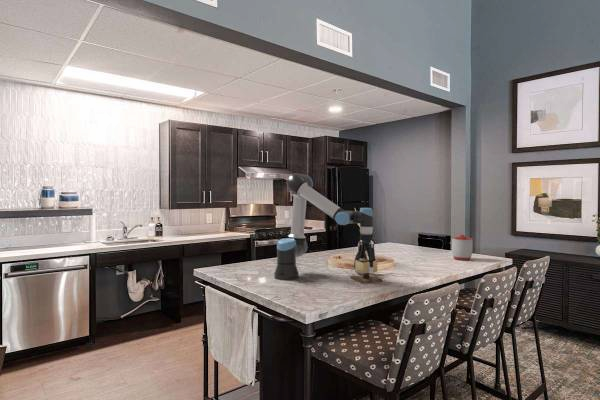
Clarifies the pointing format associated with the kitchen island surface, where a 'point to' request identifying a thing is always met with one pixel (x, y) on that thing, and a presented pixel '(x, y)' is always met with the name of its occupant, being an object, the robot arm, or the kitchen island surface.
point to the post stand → (366, 278)
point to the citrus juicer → (462, 247)
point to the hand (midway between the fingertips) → (366, 270)
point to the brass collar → (364, 266)
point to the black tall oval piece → (359, 259)
